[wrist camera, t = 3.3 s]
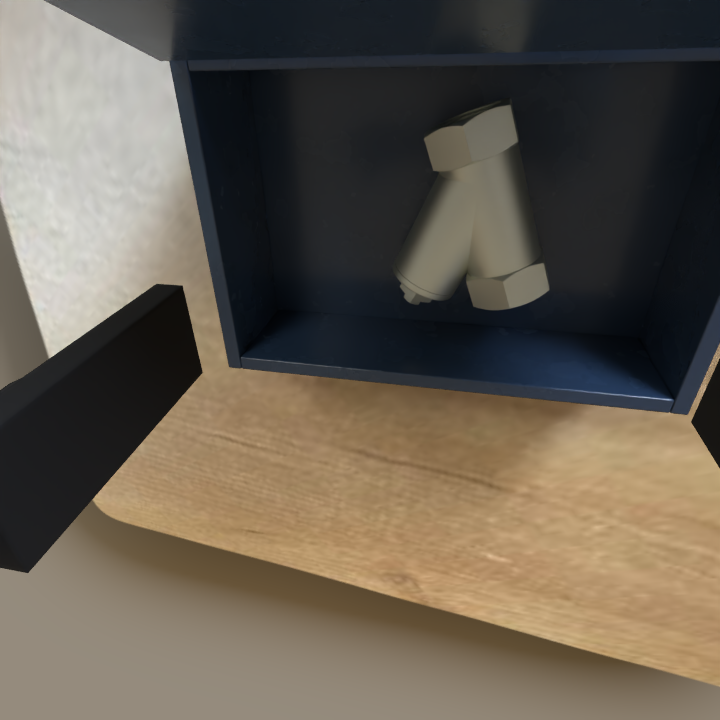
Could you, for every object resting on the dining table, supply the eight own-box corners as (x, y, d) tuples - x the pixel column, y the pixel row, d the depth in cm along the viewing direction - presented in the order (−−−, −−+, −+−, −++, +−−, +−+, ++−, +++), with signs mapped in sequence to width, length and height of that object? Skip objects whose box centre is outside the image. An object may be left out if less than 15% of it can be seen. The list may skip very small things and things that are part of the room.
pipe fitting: (418, 298, 26) (547, 267, 23) (403, 333, 23) (551, 302, 20) (366, 150, 23) (510, 93, 20) (341, 168, 19) (508, 103, 17)
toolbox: (644, 343, 25) (688, 415, 20) (272, 313, 29) (228, 367, 24) (750, 38, 18) (860, 28, 13) (239, 51, 22) (165, 48, 17)
